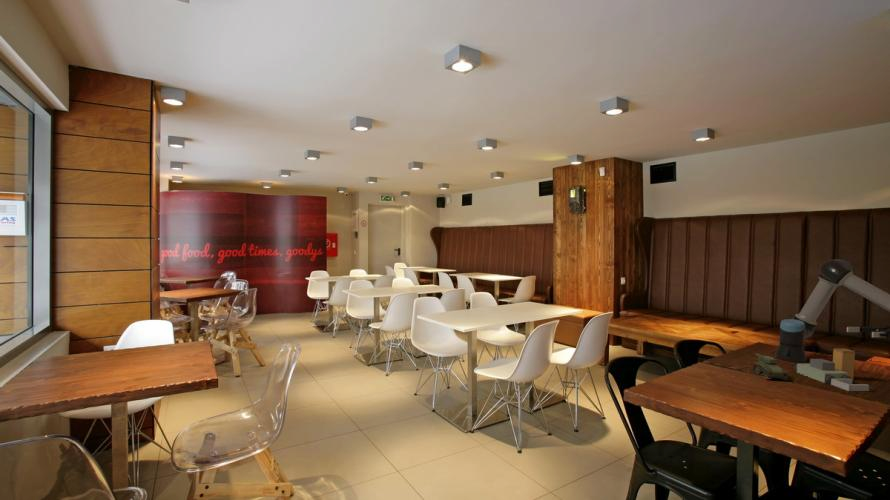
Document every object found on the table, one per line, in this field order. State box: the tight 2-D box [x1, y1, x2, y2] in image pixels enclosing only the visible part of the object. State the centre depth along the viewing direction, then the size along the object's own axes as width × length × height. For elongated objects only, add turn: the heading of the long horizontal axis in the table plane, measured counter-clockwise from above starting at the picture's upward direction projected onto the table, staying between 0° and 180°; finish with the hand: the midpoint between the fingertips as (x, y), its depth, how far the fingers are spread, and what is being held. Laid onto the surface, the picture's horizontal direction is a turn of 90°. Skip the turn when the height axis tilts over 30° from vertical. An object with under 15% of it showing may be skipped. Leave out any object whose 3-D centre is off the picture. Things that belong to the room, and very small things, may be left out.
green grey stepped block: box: [793, 358, 870, 392], centre depth 225 cm, size 29×13×9 cm, turn 4°
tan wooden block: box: [832, 348, 856, 380], centre depth 230 cm, size 5×7×15 cm
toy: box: [752, 352, 789, 382], centre depth 231 cm, size 10×18×10 cm, turn 174°
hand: (859, 332), depth 231 cm, fingers open, 13 cm apart
